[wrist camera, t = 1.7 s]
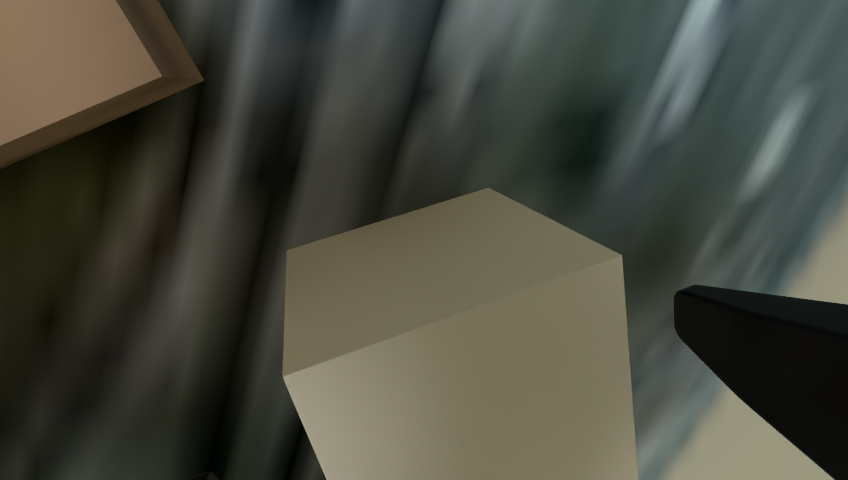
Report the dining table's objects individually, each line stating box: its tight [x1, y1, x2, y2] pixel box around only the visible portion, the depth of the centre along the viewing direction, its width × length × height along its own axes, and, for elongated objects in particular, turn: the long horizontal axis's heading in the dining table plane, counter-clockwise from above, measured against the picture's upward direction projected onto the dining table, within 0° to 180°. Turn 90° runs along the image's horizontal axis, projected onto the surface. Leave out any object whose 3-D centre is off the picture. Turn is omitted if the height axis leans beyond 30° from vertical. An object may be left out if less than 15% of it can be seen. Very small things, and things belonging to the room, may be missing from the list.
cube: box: [282, 188, 638, 480], centre depth 9 cm, size 5×5×5 cm
